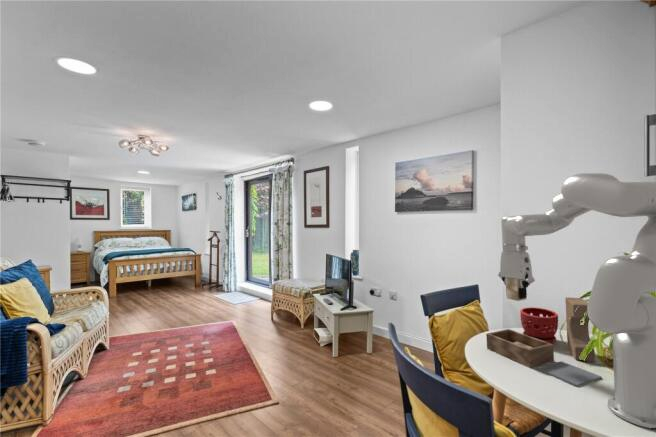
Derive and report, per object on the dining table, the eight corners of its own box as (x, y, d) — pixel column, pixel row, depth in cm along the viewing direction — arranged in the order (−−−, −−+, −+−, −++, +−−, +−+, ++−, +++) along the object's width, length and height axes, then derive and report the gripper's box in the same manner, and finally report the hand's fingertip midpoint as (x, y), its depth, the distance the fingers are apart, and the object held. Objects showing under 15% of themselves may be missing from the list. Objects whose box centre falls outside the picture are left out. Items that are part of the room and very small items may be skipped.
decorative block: (595, 363, 109) (592, 305, 110) (575, 360, 112) (572, 304, 112) (585, 350, 119) (583, 298, 120) (567, 348, 122) (565, 297, 122)
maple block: (526, 299, 117) (525, 277, 117) (517, 300, 115) (516, 279, 115) (515, 296, 121) (514, 276, 121) (506, 298, 120) (505, 277, 120)
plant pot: (514, 338, 134) (513, 310, 134) (532, 332, 140) (531, 305, 140) (548, 349, 122) (546, 318, 122) (565, 341, 128) (564, 312, 128)
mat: (601, 378, 99) (601, 376, 99) (576, 386, 95) (576, 384, 95) (561, 362, 110) (561, 361, 110) (538, 369, 106) (538, 368, 106)
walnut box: (554, 361, 112) (553, 344, 112) (530, 368, 108) (529, 350, 108) (509, 343, 129) (508, 328, 129) (487, 348, 125) (486, 333, 125)
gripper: (543, 249, 112) (545, 300, 112) (501, 246, 128) (504, 291, 128) (528, 250, 109) (530, 303, 109) (487, 247, 125) (490, 293, 125)
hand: (516, 296), depth 118 cm, fingers closed on maple block, 4 cm apart
